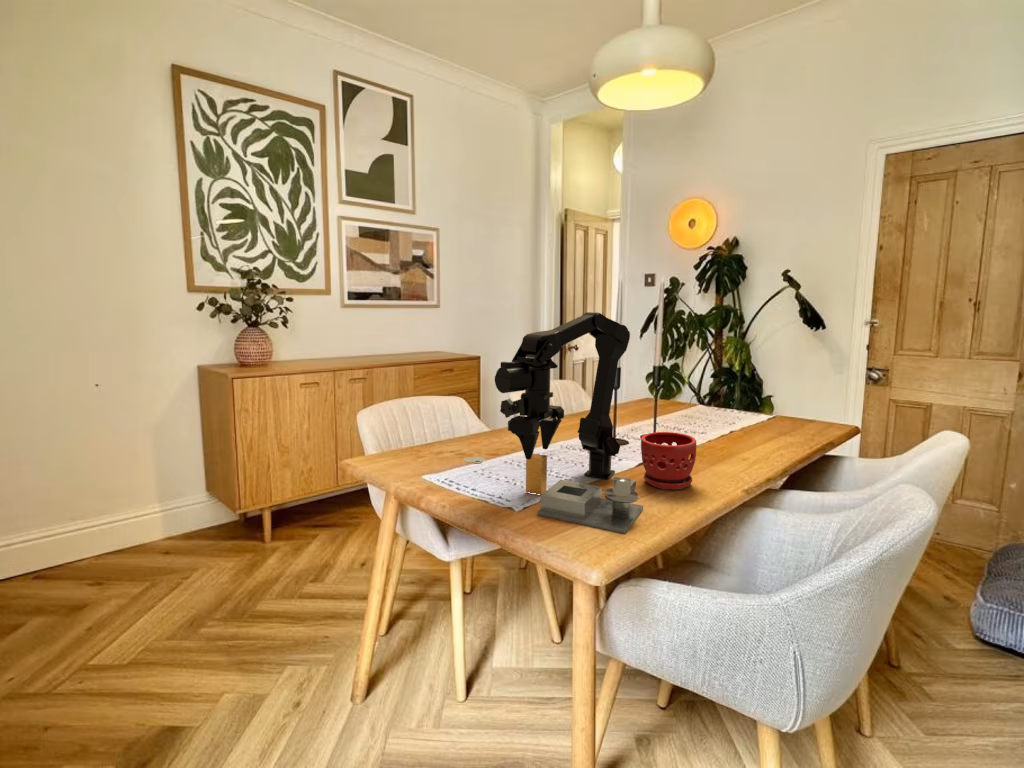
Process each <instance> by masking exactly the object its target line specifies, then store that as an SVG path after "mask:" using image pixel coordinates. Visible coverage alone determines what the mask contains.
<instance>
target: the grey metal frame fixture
mask: <svg viewBox="0 0 1024 768" xmlns="http://www.w3.org/2000/svg"><path fill="white" fill-rule="evenodd" d="M636 487H637V480H635V479H634V480H633V479H631V478H628V477H625V476H615V477H613V478H612V487H611V488H608V489H606V490H605V491H604V498H603V497H602V496H603V493H602V491H603V487H602V486H598V485H592V484H588V483H582V482H576V481H575V482H574V481H570V480H563V479H560V480H558V481H557V482H555V484H553V485H552V486H551V487H549V488H548V489H546V491H545V492H544V493H542V494H541V496H540V504H539V505H540V509H538V511H537V512H536V513H537V516H541V517H545V518H546V517H547V518H550V519H554V520H560V521H563V522H567V523H574V524H578V525H582V526H587V527H592V528H596V529H602V530H605V531H611V532H614V533H621V534H626V533H628V531H629V529H630V528H631V527H632V525H633V524H634V522H635V521H636V519H637V518H638V517H639V515H640V514H641V513H642V511H644V505H641V504H635V502H637V501H638V499H639V493H638V492H637V491H636V489H637V488H636Z"/></svg>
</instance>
